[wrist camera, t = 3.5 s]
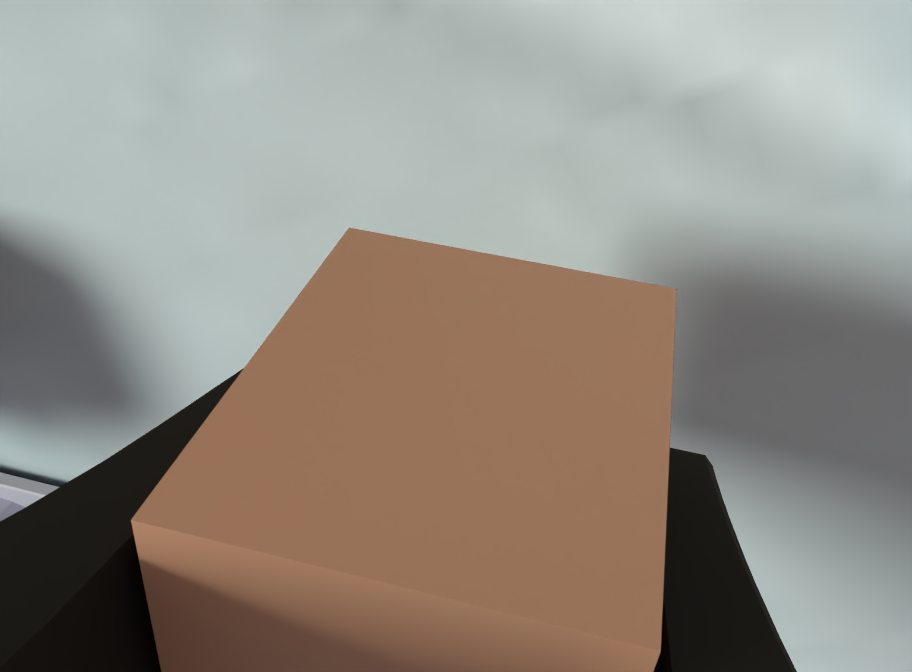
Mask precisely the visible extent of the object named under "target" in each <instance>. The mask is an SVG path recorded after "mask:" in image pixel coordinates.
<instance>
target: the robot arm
mask: <svg viewBox="0 0 912 672" xmlns="http://www.w3.org/2000/svg"><path fill="white" fill-rule="evenodd" d="M242 371H243V369H242V370H240V371H239V372H237V373H236V374H235V375H233V376H231V377H230V378H228V379H227V380H225V381H224V382H222V383H221V384H220V385H218V386H217V387H215V388H214V389H212V390H211V391H209V392H208V393H206V394H205V395H203V396H202V397H200V398H199V399H197V400H196V401H194V402H193V403H191V404H190V405H188V406H187V407H185V408H184V409H182V410H181V411H180V412H178V413H177V414H175V415H174V416H172V417H171V418H169V419H168V420H166V421H165V422H163V423H162V424H160V425H159V426H157V427H156V428H154V429H153V430H151V431H149V432H148V433H146V434H145V435H143V436H142V437H140V438H139V439H137V440H136V441H134V442H132V443H131V444H129V445H128V446H126V447H125V448H123V449H122V450H120V451H119V452H117V453H115V454H114V455H112V456H111V457H109V458H108V459H106V460H105V461H103V462H101V463H100V464H98V465H96V466H95V467H93V468H91V469H90V470H88V471H86V472H85V473H83V474H81V475H79V476H78V477H76V478H74V479H73V480H71V481H69V482H68V483H66V484H64V485H63V486H61V487H57V486H53V485H49V484H45V483H41V482H37V481H33V480H29V479H25V478H21V477H17V476H13V475H9V474H5V473H1V472H0V672H161V667H160V662H159V657H158V652H157V647H156V642H155V637H154V633H153V628H152V623H151V618H150V613H149V608H148V603H147V598H146V593H145V588H144V583H143V578H142V573H141V568H140V563H139V558H138V553H137V548H136V543H135V538H134V533H133V528H132V523H131V519H132V518H133V516H134V515H135V514H136V512H137V511H138V510H139V508H140V507H141V506H142V504H143V503H144V502H145V500H146V499H147V498H148V496H149V495H150V494H151V492H152V491H153V490H154V488H155V487H156V486H157V484H158V483H159V482H160V480H161V479H162V478H163V476H164V475H165V474H166V472H167V471H168V470H169V468H170V467H171V466H172V464H173V463H174V462H175V460H176V459H177V458H178V456H179V455H180V454H181V452H182V451H183V449H184V448H185V447H186V445H187V444H188V443H189V441H190V440H191V439H192V437H193V436H194V435H195V433H196V432H197V431H198V429H199V428H200V427H201V425H202V424H203V423H204V421H205V420H206V419H207V417H208V416H209V415H210V413H211V412H212V411H213V409H214V408H215V407H216V405H217V404H218V403H219V401H220V400H221V399H222V397H223V396H224V395H225V393H226V392H227V391H228V389H229V388H230V387H231V385H232V384H233V383H234V381H235V380H236V379H237V377H238V376H239V375H240V373H241V372H242ZM653 672H797V671H796V669H795V667H794V665H793V663H792V661H791V659H790V657H789V655H788V653H787V651H786V649H785V647H784V645H783V643H782V641H781V639H780V637H779V634H778V632H777V630H776V628H775V626H774V623H773V621H772V619H771V617H770V614H769V612H768V610H767V608H766V606H765V603H764V601H763V599H762V597H761V594H760V592H759V590H758V588H757V586H756V583H755V581H754V579H753V576H752V574H751V571H750V569H749V567H748V564H747V562H746V559H745V557H744V554H743V552H742V549H741V547H740V544H739V542H738V539H737V536H736V534H735V531H734V529H733V526H732V523H731V521H730V518H729V515H728V512H727V510H726V507H725V504H724V501H723V498H722V495H721V492H720V489H719V486H718V483H717V480H716V476H715V473H714V469H713V466H712V464H711V463H710V461H709V460H708V459H707V457H706V456H705V455H702V454H697V453H692V452H687V451H683V450H678V449H673V448H670V451H669V474H668V496H667V519H666V542H665V565H664V588H663V610H662V633H661V652H660V655H659V658H658V660H657V663H656V666H655V669H654V671H653Z"/></svg>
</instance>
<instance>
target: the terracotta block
mask: <svg viewBox="0 0 912 672" xmlns="http://www.w3.org/2000/svg"><path fill="white" fill-rule="evenodd" d="M676 291H677V289H674V288H669V287H664V286H658V285H653V284H648V283H642V282H637V281H631V280H626V279H621V278H615V277H610V276H605V275H599V274H594V273H589V272H583V271H578V270H572V269H567V268H562V267H556V266H551V265H546V264H540V263H535V262H530V261H524V260H519V259H514V258H508V257H503V256H497V255H492V254H487V253H481V252H476V251H471V250H465V249H460V248H455V247H449V246H444V245H438V244H433V243H428V242H422V241H417V240H412V239H406V238H401V237H396V236H390V235H385V234H379V233H374V232H369V231H363V230H358V229H353V228H349V229H348V230H347V231H346V233H345V234H344V235H343V237H342V238H341V239H340V241H339V242H338V243H337V245H336V246H335V247H334V249H333V250H332V251H331V253H330V254H329V255H328V257H327V258H326V259H325V261H324V262H323V263H322V265H321V266H320V267H319V269H318V270H317V271H316V273H315V274H314V275H313V277H312V278H311V279H310V281H309V282H308V283H307V285H306V286H305V287H304V289H303V290H302V292H301V293H300V294H299V296H298V297H297V298H296V300H295V301H294V302H293V304H292V305H291V306H290V308H289V309H288V310H287V312H286V313H285V314H284V316H283V317H282V318H281V320H280V321H279V322H278V324H277V325H276V326H275V328H274V329H273V330H272V332H271V333H270V334H269V336H268V337H267V338H266V340H265V341H264V342H263V344H262V345H261V346H260V348H259V349H258V350H257V352H256V353H255V354H254V356H253V357H252V358H251V360H250V361H249V362H248V364H247V365H246V366H245V368H244V369H243V371H242V372H241V373H240V375H239V376H238V377H237V379H236V380H235V381H234V383H233V384H232V385H231V387H230V388H229V389H228V391H227V392H226V393H225V395H224V396H223V397H222V399H221V400H220V401H219V403H218V404H217V405H216V407H215V408H214V409H213V411H212V412H211V413H210V415H209V416H208V417H207V419H206V420H205V421H204V423H203V424H202V425H201V427H200V428H199V429H198V431H197V432H196V433H195V435H194V436H193V437H192V439H191V440H190V441H189V443H188V444H187V445H186V447H185V448H184V449H183V451H182V452H181V454H180V455H179V456H178V458H177V459H176V460H175V462H174V463H173V464H172V466H171V467H170V468H169V470H168V471H167V472H166V474H165V475H164V476H163V478H162V479H161V480H160V482H159V483H158V484H157V486H156V487H155V488H154V490H153V491H152V492H151V494H150V495H149V496H148V498H147V499H146V500H145V502H144V503H143V504H142V506H141V507H140V508H139V510H138V511H137V512H136V514H135V515H134V516H133V518H132V519H131V523H132V528H133V533H134V538H135V543H136V548H137V553H138V558H139V563H140V568H141V573H142V578H143V583H144V588H145V593H146V598H147V603H148V608H149V613H150V618H151V623H152V628H153V633H154V637H155V642H156V647H157V652H158V657H159V662H160V667H161V672H653V671H654V669H655V666H656V663H657V660H658V658H659V655H660V652H661V633H662V610H663V588H664V565H665V542H666V519H667V496H668V474H669V451H670V428H671V405H672V383H673V360H674V337H675V314H676Z"/></svg>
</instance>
